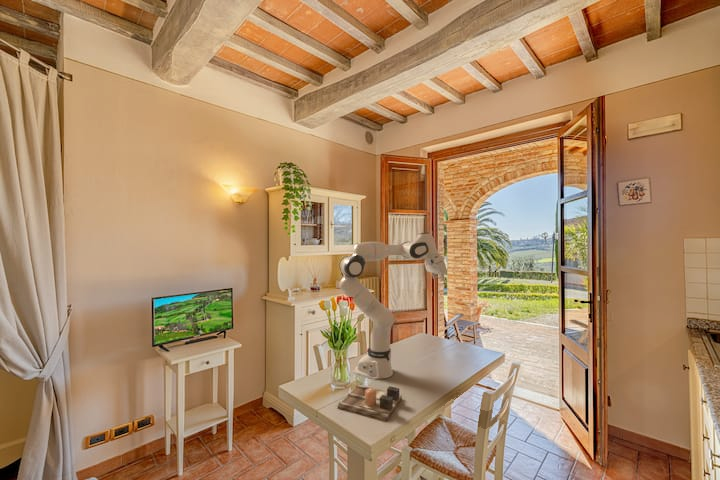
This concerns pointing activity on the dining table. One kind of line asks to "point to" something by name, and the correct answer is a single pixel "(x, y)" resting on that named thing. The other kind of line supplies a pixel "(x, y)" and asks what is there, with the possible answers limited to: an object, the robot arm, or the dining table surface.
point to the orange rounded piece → (370, 397)
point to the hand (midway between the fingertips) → (439, 279)
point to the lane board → (355, 401)
